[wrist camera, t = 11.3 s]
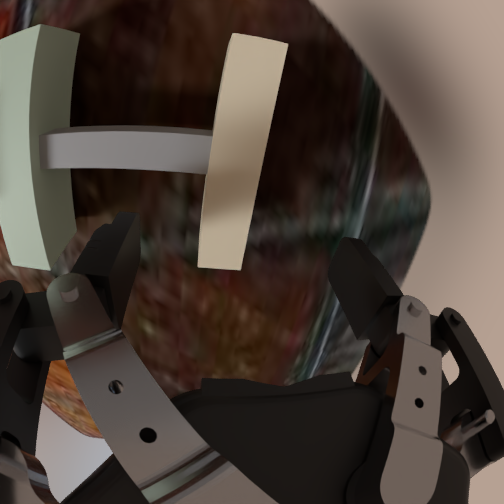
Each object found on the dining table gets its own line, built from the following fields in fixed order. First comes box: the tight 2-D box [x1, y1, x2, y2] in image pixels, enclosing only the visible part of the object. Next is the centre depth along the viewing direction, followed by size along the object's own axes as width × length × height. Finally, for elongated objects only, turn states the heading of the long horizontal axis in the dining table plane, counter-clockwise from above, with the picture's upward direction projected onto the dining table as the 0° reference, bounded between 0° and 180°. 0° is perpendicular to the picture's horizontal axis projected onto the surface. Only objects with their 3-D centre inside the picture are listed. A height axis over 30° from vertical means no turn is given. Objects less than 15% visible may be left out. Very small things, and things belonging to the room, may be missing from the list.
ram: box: [0, 24, 288, 270], centre depth 10 cm, size 12×13×4 cm
